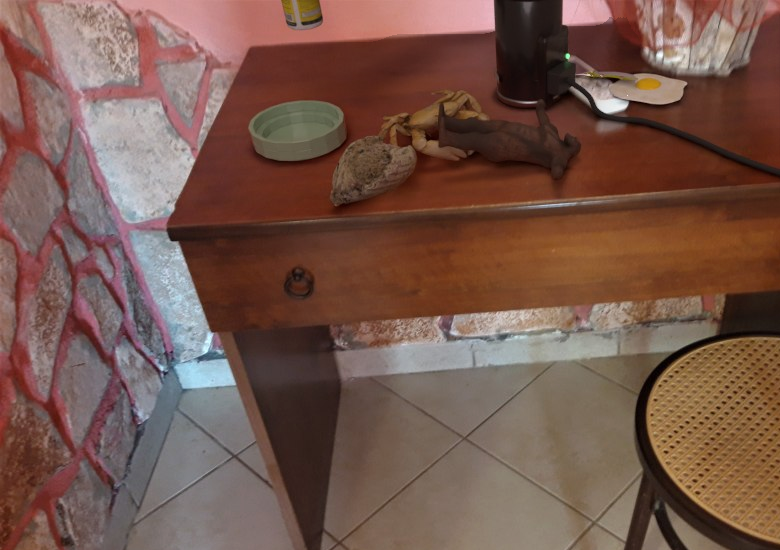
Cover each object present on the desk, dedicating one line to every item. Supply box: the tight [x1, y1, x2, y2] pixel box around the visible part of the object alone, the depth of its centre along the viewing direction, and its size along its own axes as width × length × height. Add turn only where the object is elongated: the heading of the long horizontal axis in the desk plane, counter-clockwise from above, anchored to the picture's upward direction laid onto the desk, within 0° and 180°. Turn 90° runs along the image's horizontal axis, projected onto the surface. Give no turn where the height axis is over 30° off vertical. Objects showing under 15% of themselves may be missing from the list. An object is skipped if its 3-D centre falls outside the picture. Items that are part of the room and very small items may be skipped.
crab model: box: [376, 89, 491, 162], centre depth 99 cm, size 16×13×6 cm
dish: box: [247, 99, 348, 162], centre depth 101 cm, size 12×12×3 cm
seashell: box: [329, 135, 418, 207], centre depth 90 cm, size 11×7×10 cm
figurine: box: [436, 99, 582, 180], centre depth 94 cm, size 18×5×18 cm
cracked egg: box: [609, 73, 688, 105], centre depth 111 cm, size 10×11×1 cm
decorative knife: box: [583, 69, 638, 82], centre depth 113 cm, size 12×1×5 cm
